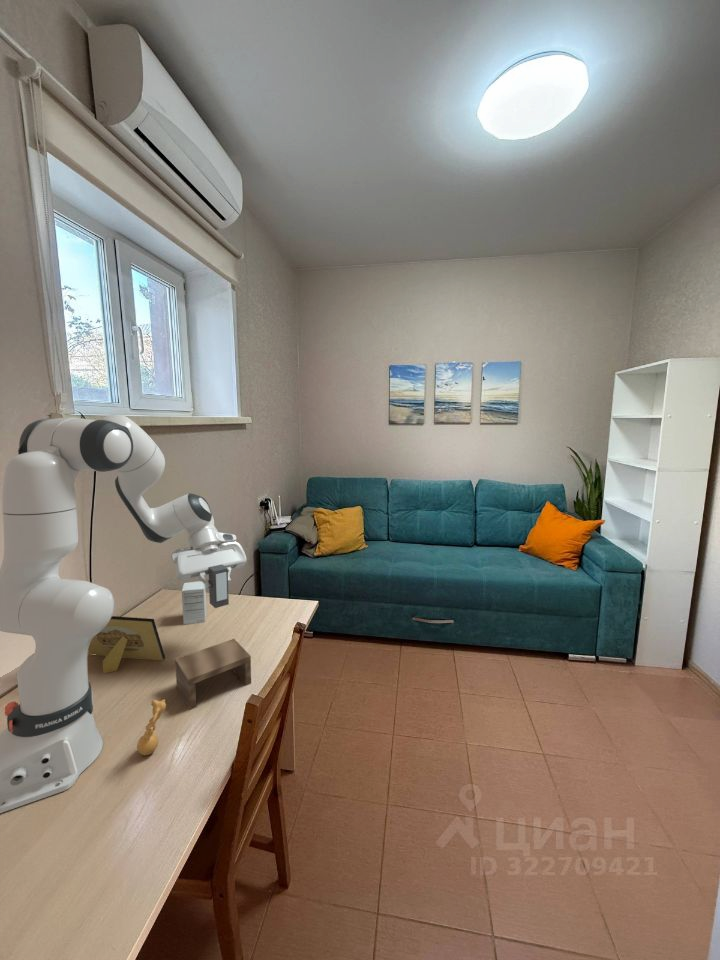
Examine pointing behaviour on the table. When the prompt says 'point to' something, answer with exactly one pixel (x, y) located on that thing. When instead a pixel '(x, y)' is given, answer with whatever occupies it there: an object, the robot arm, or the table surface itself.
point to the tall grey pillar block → (218, 586)
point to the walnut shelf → (211, 667)
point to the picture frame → (127, 641)
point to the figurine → (151, 730)
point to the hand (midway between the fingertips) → (219, 584)
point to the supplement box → (194, 602)
